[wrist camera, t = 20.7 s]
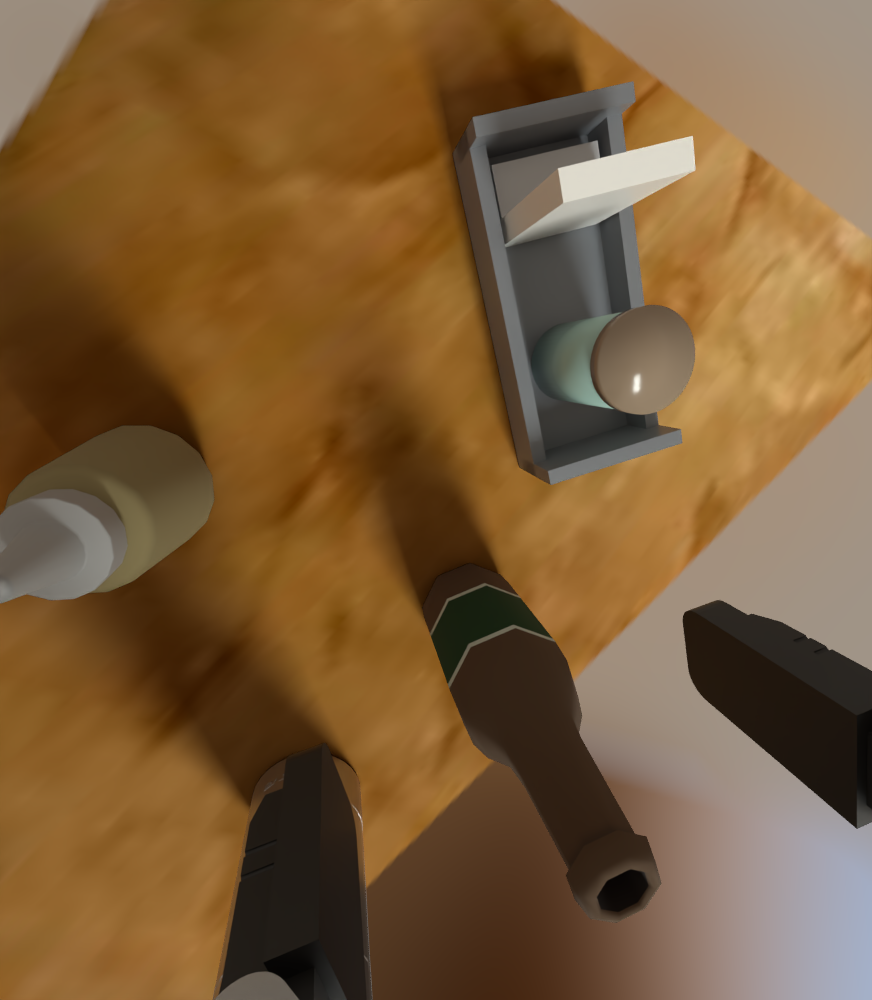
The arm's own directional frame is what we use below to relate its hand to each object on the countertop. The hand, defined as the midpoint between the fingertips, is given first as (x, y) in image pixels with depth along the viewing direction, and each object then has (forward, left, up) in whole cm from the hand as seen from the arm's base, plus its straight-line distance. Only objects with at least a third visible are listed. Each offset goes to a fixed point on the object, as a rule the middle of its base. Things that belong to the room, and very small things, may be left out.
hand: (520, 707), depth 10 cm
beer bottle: (-14, -3, -28) cm, 31 cm away
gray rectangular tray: (+7, -15, -28) cm, 33 cm away
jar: (+3, -15, -27) cm, 31 cm away
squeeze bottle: (+3, +15, -28) cm, 32 cm away
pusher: (+14, -15, -27) cm, 34 cm away
